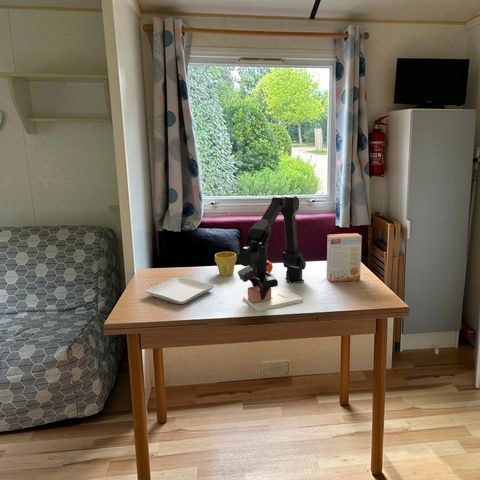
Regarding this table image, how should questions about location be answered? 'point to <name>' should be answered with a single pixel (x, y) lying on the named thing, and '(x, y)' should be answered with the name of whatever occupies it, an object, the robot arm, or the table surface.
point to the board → (276, 299)
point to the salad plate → (179, 290)
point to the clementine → (269, 267)
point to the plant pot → (225, 263)
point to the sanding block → (257, 295)
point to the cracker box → (343, 257)
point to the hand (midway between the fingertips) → (259, 297)
